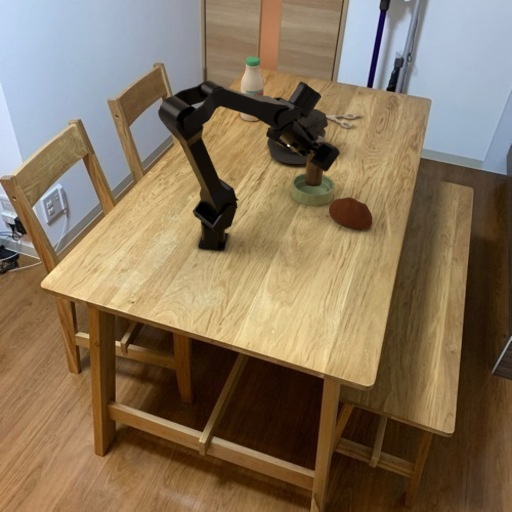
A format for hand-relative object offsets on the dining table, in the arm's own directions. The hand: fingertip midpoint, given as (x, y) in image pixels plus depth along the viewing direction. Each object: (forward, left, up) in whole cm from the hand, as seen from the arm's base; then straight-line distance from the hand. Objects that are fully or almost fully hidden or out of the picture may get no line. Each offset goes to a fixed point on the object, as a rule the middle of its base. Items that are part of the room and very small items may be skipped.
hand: (319, 158), depth 140 cm
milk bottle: (+44, +24, -11) cm, 52 cm away
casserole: (+24, +7, -11) cm, 28 cm away
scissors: (+48, -3, -11) cm, 50 cm away
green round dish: (-1, +1, -11) cm, 11 cm away
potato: (-13, -9, -11) cm, 19 cm away
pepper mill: (-1, +1, -7) cm, 7 cm away
